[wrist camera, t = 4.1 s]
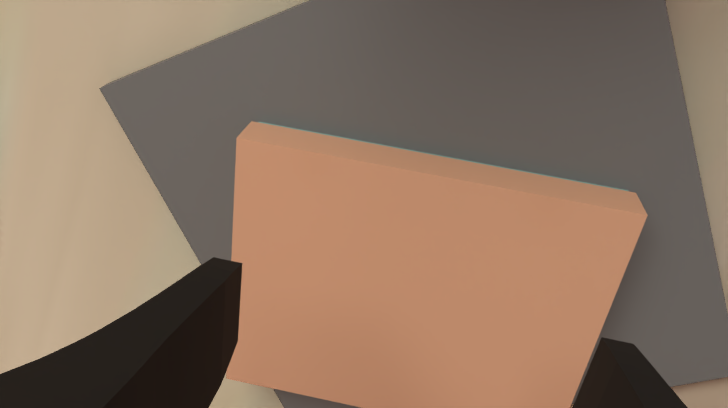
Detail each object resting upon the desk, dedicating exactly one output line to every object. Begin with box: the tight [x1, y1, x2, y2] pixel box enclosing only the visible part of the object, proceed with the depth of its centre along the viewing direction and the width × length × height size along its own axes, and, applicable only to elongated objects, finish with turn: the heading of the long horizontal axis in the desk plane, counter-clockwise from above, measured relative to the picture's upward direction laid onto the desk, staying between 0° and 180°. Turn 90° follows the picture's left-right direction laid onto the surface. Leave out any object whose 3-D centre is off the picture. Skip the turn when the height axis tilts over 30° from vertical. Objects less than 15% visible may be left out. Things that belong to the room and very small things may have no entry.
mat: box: [99, 0, 728, 408], centre depth 18 cm, size 14×14×1 cm
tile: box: [226, 121, 648, 408], centre depth 18 cm, size 2×10×8 cm
